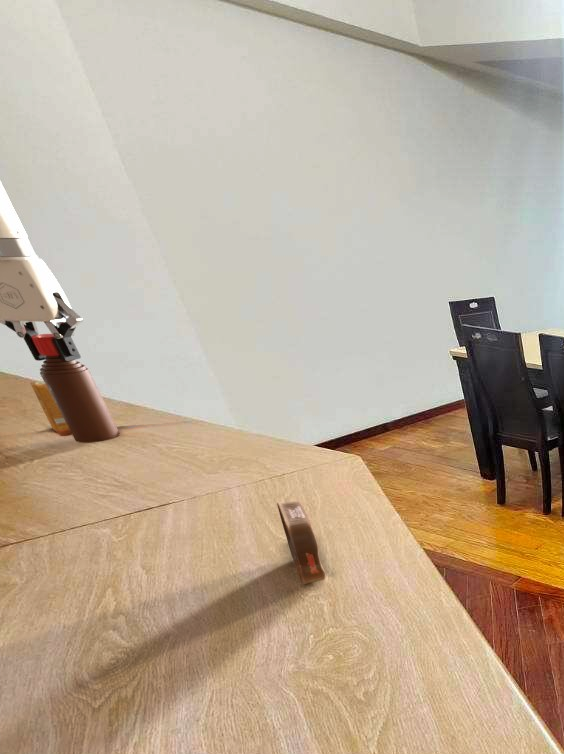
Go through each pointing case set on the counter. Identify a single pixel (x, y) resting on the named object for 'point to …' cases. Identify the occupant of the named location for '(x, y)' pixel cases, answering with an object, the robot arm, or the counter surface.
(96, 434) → the sauce bottle
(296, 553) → the brown curved block
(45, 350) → the cap
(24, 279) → the robot arm
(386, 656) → the counter surface
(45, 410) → the supplement box
